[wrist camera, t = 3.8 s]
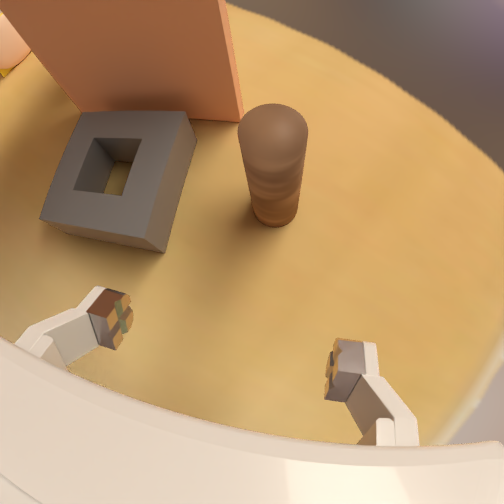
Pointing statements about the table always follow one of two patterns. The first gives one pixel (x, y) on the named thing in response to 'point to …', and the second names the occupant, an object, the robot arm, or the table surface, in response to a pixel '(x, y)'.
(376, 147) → the table surface
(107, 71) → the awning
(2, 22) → the hamburger
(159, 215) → the socket
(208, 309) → the table surface
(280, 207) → the peg
